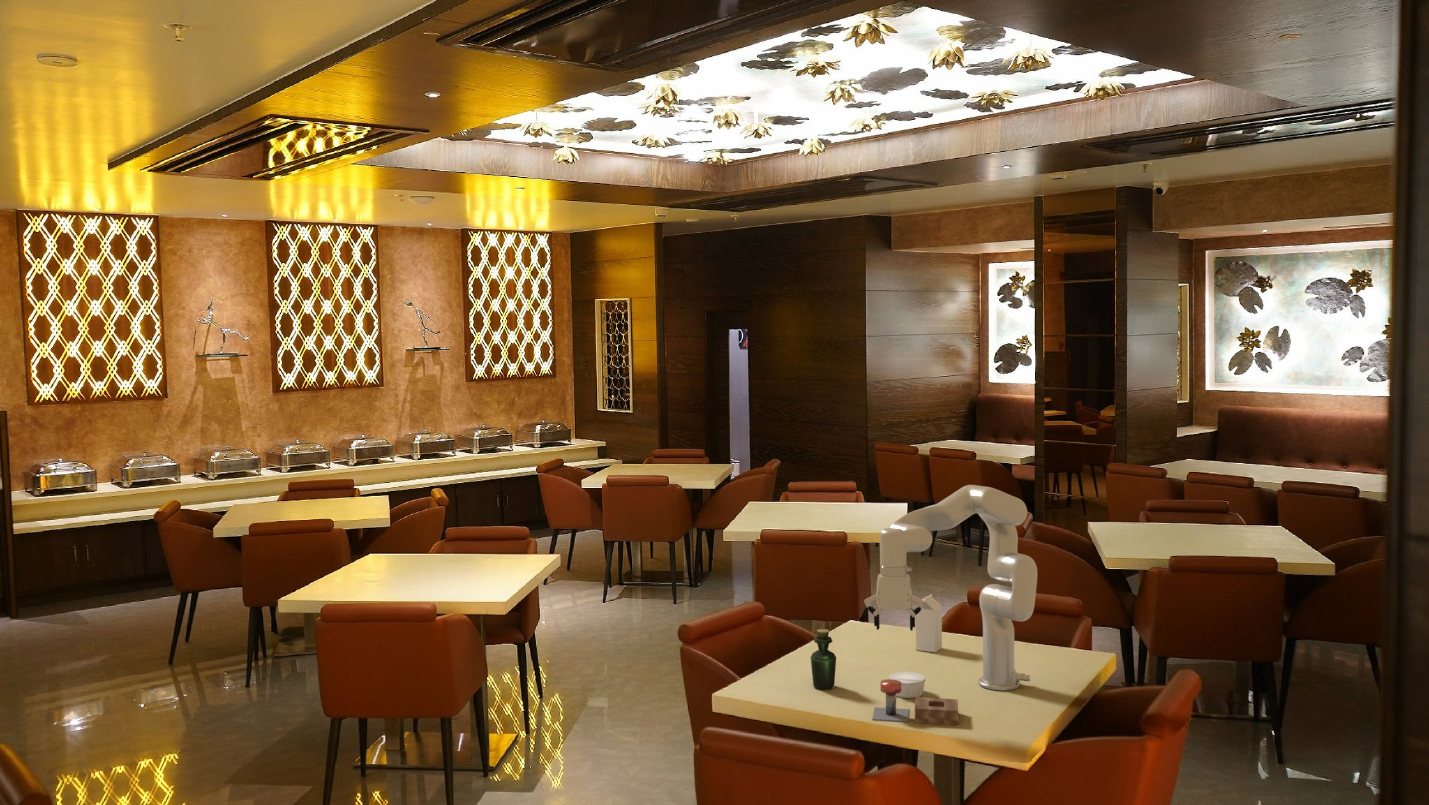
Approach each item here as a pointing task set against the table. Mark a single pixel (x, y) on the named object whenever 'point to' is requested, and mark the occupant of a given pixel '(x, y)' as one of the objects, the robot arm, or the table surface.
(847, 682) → the table surface
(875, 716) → the slate mat
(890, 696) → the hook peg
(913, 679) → the ramekin
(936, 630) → the milk carton
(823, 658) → the potion bottle
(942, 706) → the eye block
